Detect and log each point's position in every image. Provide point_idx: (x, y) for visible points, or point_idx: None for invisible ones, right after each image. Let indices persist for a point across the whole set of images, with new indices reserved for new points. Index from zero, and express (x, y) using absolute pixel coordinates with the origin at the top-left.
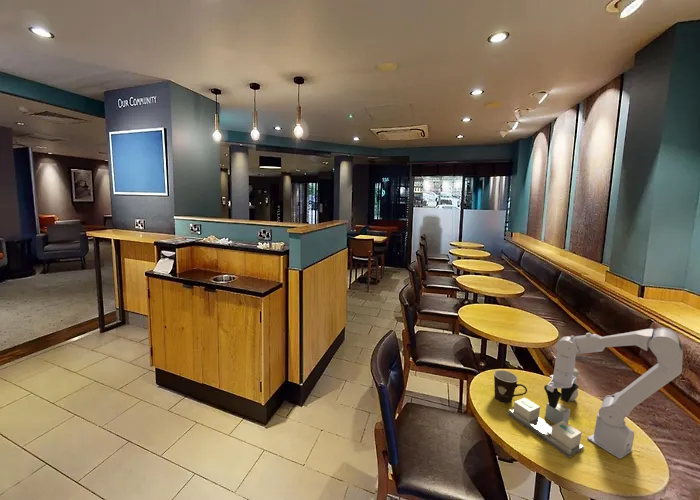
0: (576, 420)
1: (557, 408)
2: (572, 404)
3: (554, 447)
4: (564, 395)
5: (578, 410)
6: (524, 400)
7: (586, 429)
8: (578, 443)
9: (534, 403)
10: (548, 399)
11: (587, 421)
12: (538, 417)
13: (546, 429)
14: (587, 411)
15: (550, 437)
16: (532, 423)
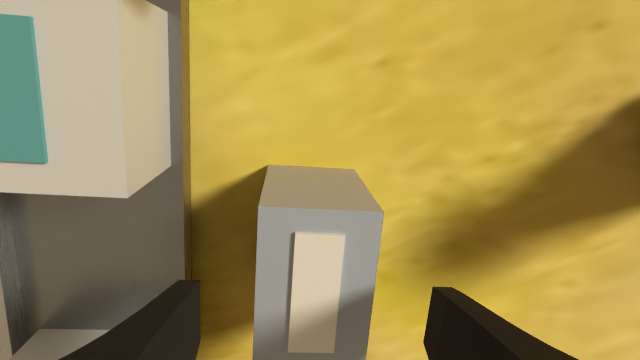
0: None
1: (272, 306)
2: (622, 186)
3: None
4: (461, 353)
5: (575, 242)
6: (45, 24)
7: (399, 357)
8: None
9: (121, 129)
10: (133, 319)
11: None
12: (167, 166)
13: (95, 271)
14: (612, 276)
15: (2, 353)
16: None
